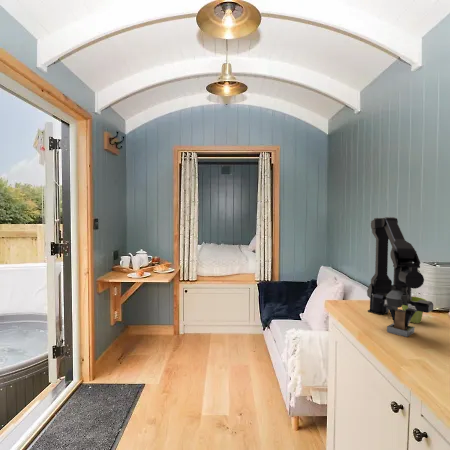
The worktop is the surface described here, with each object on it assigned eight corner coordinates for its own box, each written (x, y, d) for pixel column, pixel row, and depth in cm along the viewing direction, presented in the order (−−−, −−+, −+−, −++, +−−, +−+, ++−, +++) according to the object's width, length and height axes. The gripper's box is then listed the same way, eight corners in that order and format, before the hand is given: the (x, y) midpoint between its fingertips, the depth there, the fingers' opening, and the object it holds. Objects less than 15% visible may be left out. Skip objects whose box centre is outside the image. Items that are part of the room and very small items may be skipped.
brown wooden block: (393, 330, 127) (395, 310, 126) (397, 327, 129) (398, 308, 128) (403, 332, 124) (404, 313, 124) (406, 330, 126) (408, 311, 126)
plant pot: (410, 325, 134) (411, 302, 134) (393, 318, 143) (394, 296, 143) (431, 324, 136) (432, 301, 136) (413, 316, 145) (414, 295, 145)
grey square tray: (386, 332, 127) (387, 326, 126) (394, 327, 131) (394, 322, 131) (407, 337, 122) (407, 331, 122) (414, 332, 126) (414, 327, 126)
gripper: (366, 281, 127) (364, 324, 128) (423, 290, 113) (421, 338, 114) (379, 277, 134) (378, 317, 135) (434, 285, 121) (432, 330, 122)
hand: (400, 325), depth 126 cm, fingers closed on brown wooden block, 3 cm apart
